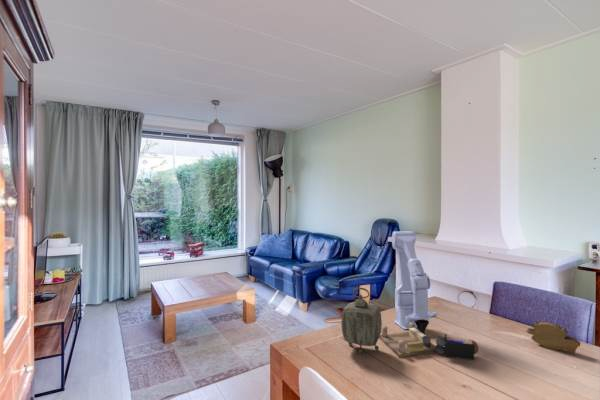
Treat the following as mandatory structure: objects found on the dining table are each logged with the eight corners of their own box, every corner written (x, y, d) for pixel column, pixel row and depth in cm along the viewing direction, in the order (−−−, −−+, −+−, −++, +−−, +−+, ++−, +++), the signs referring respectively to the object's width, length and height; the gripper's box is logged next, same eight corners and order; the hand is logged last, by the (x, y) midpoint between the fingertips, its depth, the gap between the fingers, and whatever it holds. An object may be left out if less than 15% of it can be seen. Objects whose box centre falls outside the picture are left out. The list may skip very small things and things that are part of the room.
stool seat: (378, 338, 136) (378, 325, 136) (414, 333, 139) (414, 321, 139) (399, 357, 119) (398, 343, 119) (439, 351, 122) (438, 338, 122)
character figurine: (434, 350, 125) (477, 356, 119) (435, 357, 118) (481, 364, 113) (434, 330, 125) (477, 335, 120) (435, 336, 118) (480, 342, 113)
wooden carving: (580, 352, 119) (580, 326, 119) (580, 357, 116) (579, 330, 116) (527, 340, 130) (526, 316, 130) (525, 344, 127) (525, 319, 127)
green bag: (382, 348, 126) (380, 286, 126) (377, 359, 118) (376, 293, 118) (347, 342, 132) (345, 283, 132) (340, 352, 124) (339, 289, 124)
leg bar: (432, 346, 124) (432, 338, 124) (426, 347, 124) (425, 339, 124) (414, 334, 135) (414, 327, 135) (408, 335, 135) (408, 327, 135)
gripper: (412, 310, 125) (413, 344, 125) (441, 305, 129) (442, 337, 130) (401, 304, 132) (402, 336, 132) (429, 299, 136) (430, 331, 136)
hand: (421, 336), depth 131 cm, fingers closed, pressing on leg bar
